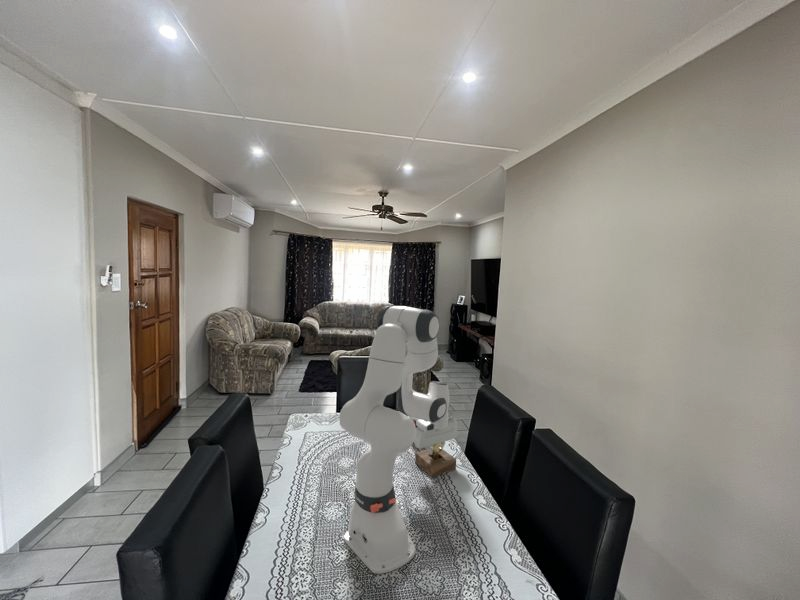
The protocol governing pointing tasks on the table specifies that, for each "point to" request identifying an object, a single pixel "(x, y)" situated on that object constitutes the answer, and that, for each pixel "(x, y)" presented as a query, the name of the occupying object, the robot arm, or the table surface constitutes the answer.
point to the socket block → (435, 462)
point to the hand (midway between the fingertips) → (435, 452)
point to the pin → (436, 451)
